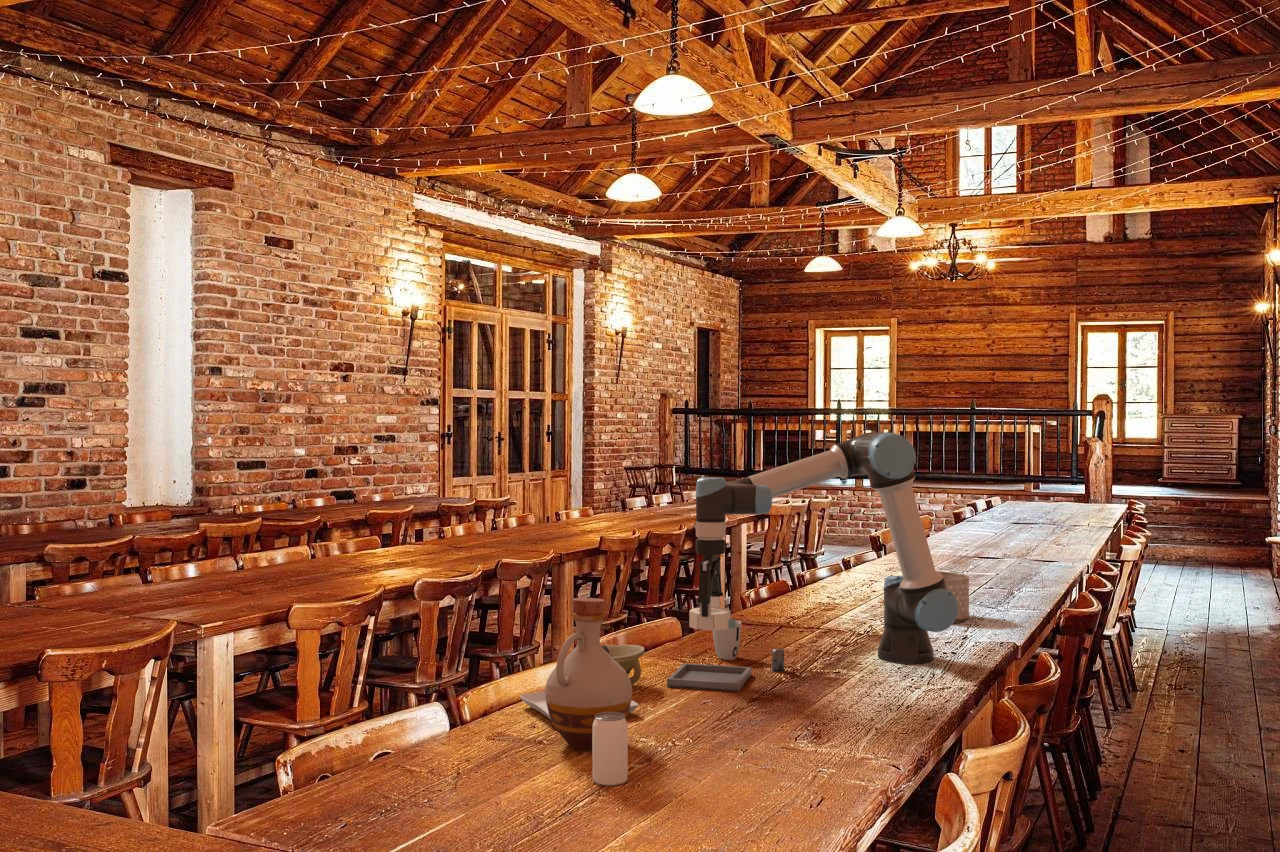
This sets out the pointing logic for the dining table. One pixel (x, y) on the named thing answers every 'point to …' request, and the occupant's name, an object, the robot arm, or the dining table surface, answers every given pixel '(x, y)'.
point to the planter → (958, 592)
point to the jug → (585, 679)
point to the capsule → (778, 660)
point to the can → (610, 749)
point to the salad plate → (540, 705)
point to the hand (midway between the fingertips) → (710, 625)
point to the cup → (727, 642)
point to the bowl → (627, 658)
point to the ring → (713, 619)
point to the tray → (709, 677)
